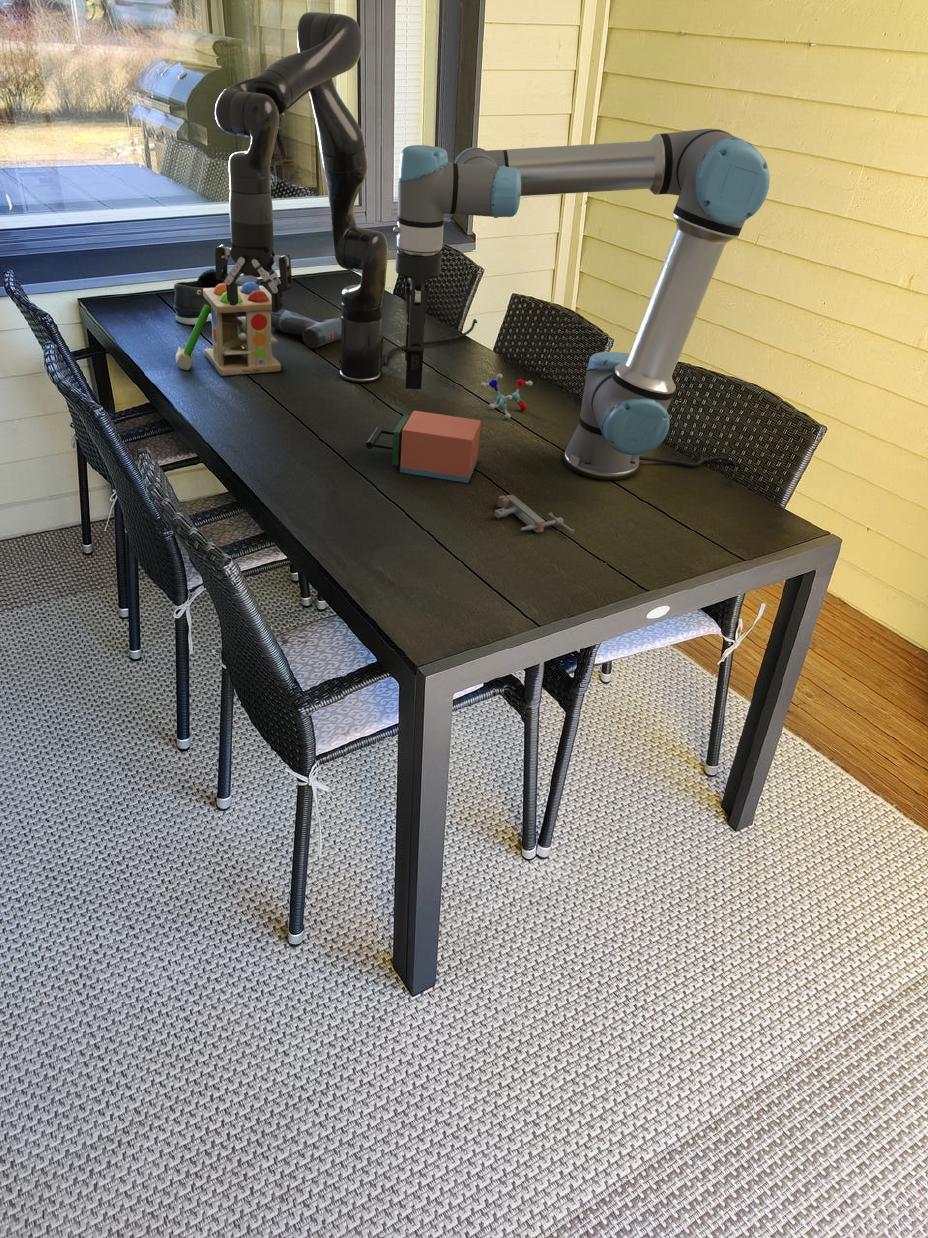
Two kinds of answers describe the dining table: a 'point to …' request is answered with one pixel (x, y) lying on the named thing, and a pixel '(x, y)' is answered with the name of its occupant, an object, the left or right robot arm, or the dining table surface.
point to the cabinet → (440, 446)
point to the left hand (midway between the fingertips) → (254, 307)
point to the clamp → (526, 514)
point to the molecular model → (501, 397)
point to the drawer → (396, 440)
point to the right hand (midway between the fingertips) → (412, 374)
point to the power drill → (307, 328)
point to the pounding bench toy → (235, 332)
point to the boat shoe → (199, 295)
